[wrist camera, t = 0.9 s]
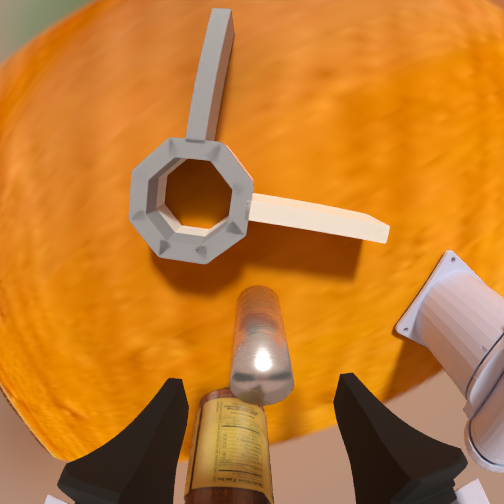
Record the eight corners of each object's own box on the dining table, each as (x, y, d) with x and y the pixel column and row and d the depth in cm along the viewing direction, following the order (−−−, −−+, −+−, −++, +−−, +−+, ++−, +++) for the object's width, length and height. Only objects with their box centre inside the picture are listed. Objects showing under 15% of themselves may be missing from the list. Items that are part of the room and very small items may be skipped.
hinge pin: (287, 297, 20) (306, 375, 12) (265, 328, 20) (272, 411, 13) (249, 278, 19) (249, 353, 11) (229, 311, 20) (219, 393, 12)
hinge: (148, 235, 18) (128, 252, 15) (179, 31, 14) (165, 9, 10) (353, 265, 19) (372, 287, 15) (388, 69, 14) (413, 56, 11)
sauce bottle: (235, 430, 25) (229, 604, 6) (185, 404, 23) (149, 596, 4) (282, 402, 23) (302, 606, 4) (229, 371, 22) (213, 614, 3)
